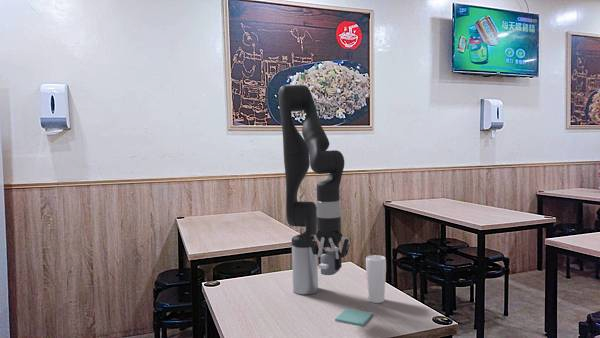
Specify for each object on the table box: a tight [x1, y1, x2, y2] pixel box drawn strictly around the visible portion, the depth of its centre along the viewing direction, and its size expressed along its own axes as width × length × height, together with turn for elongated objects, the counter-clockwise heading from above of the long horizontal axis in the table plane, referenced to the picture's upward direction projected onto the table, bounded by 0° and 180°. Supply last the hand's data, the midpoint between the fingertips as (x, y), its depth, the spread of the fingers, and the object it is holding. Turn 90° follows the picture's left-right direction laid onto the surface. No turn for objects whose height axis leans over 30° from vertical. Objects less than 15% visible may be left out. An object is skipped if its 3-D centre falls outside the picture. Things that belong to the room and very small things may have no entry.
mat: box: [334, 307, 374, 327], centre depth 128 cm, size 9×9×1 cm
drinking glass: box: [365, 254, 387, 304], centre depth 141 cm, size 7×7×15 cm
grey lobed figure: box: [318, 249, 340, 276], centre depth 128 cm, size 9×4×6 cm, turn 152°
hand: (330, 268), depth 129 cm, fingers closed on grey lobed figure, 4 cm apart
